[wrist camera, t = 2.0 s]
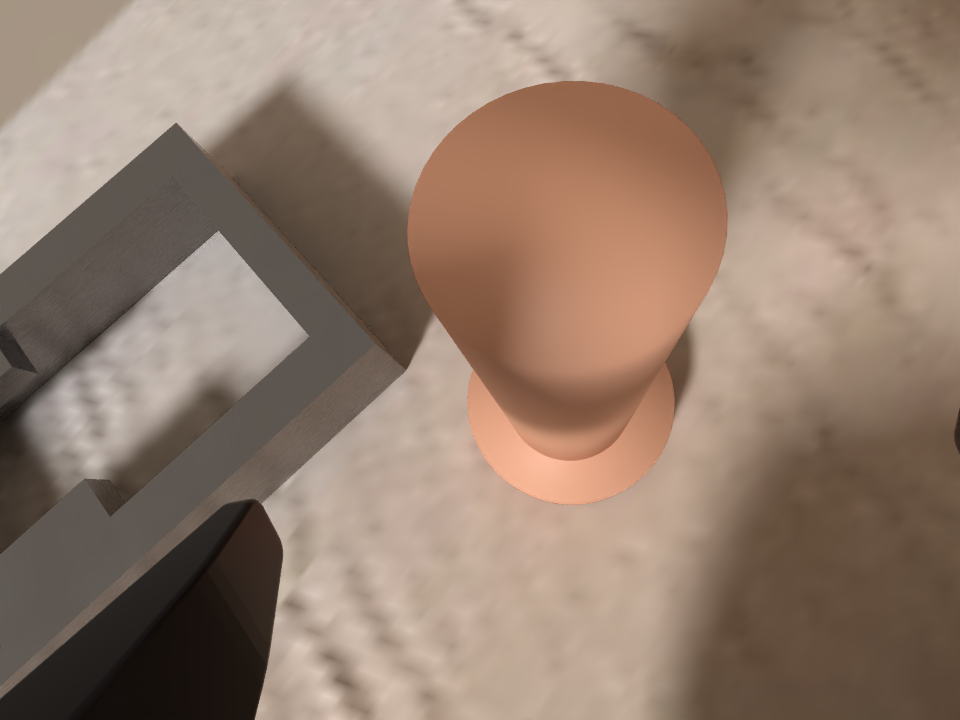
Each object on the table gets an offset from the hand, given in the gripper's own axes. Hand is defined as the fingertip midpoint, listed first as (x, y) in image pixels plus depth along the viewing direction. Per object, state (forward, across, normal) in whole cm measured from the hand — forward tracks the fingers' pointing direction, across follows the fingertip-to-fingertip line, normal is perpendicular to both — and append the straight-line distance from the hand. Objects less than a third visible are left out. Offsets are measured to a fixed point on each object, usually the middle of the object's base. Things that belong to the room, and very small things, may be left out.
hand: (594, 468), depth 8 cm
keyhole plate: (+11, +15, +5) cm, 20 cm away
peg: (+10, 0, +6) cm, 12 cm away
